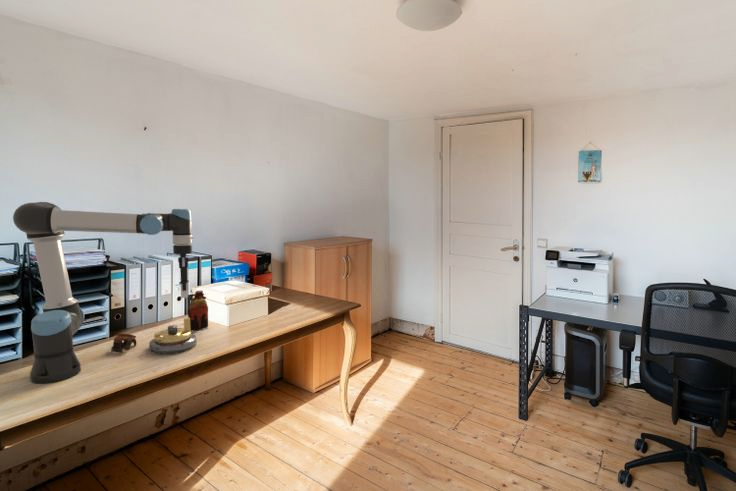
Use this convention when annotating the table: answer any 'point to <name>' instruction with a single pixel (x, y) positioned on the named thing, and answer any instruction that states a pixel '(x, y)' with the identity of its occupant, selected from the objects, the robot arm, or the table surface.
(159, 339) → the gold lug disc
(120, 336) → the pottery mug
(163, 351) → the base
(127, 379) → the table surface
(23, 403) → the table surface
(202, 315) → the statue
